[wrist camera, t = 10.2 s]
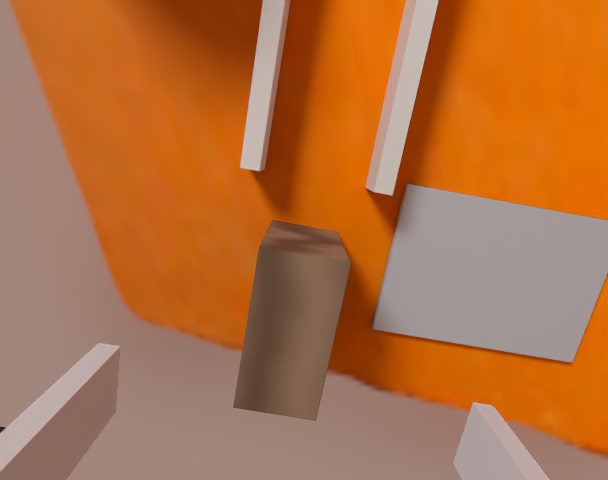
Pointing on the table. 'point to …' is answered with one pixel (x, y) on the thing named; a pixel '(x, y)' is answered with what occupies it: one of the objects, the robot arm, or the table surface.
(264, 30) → the bay
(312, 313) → the walnut block
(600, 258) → the mat
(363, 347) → the table surface
